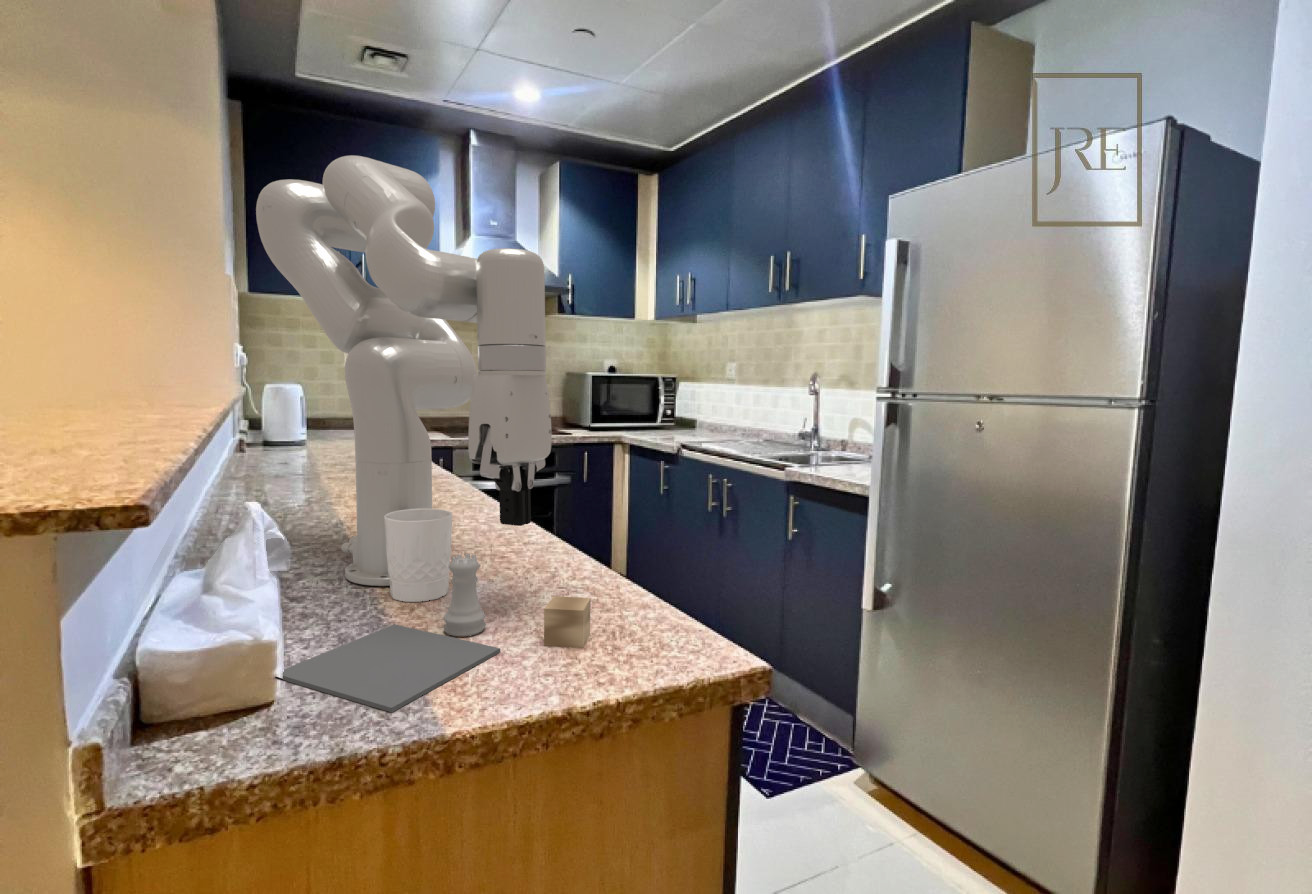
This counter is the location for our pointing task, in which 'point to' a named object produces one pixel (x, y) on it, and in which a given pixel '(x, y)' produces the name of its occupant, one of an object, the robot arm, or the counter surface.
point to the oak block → (567, 622)
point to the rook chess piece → (464, 599)
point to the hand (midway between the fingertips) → (515, 523)
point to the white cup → (418, 553)
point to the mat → (389, 666)
